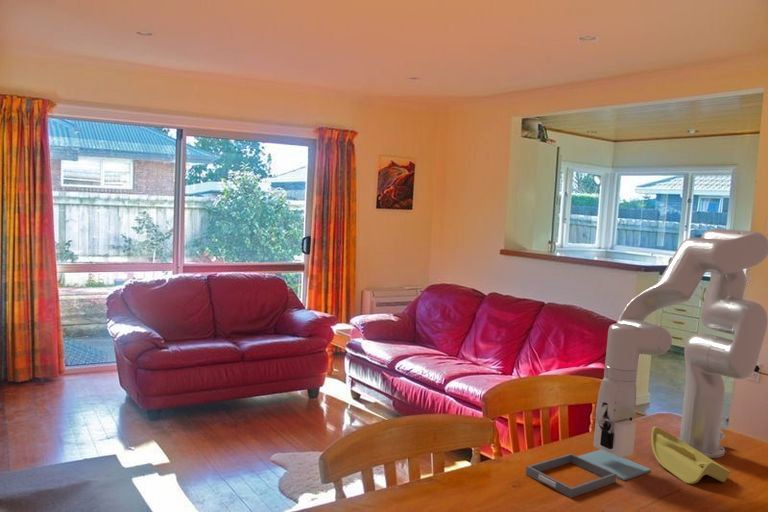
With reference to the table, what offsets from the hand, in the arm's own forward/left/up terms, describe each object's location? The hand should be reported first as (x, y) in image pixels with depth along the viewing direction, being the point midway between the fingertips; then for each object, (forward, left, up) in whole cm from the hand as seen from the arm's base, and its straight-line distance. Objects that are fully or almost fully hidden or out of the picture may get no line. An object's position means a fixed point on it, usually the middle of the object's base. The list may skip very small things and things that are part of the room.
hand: (613, 444), depth 156 cm
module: (0, 0, -2) cm, 2 cm away
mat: (0, 0, -5) cm, 5 cm away
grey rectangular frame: (+16, 0, -5) cm, 17 cm away
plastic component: (-16, +10, -6) cm, 20 cm away
